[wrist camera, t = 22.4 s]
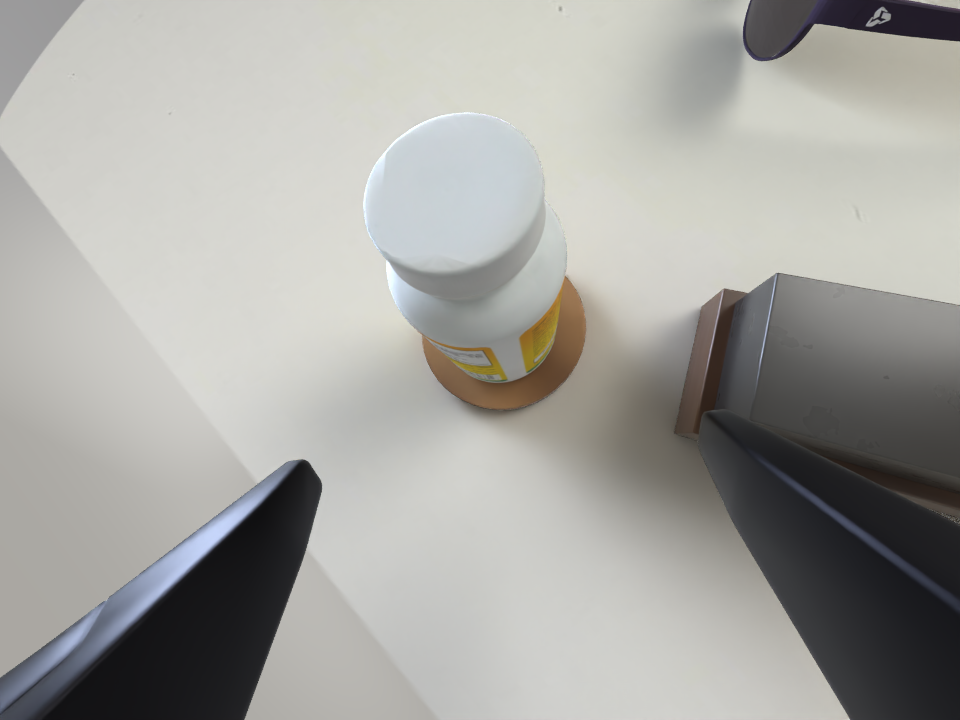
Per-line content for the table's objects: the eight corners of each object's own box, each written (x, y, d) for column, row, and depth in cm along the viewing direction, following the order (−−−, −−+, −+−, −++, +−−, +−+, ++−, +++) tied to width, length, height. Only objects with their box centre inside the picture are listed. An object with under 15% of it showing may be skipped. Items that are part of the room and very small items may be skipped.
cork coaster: (522, 444, 16) (521, 444, 15) (395, 351, 18) (391, 348, 17) (617, 305, 16) (620, 301, 16) (484, 232, 18) (482, 226, 18)
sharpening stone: (1072, 383, 13) (1350, 354, 8) (1067, 550, 12) (1380, 616, 7) (701, 306, 16) (762, 255, 11) (673, 433, 15) (728, 431, 10)
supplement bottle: (464, 400, 16) (356, 346, 7) (434, 300, 17) (311, 144, 8) (575, 361, 15) (622, 246, 6) (534, 262, 17) (524, 50, 8)
